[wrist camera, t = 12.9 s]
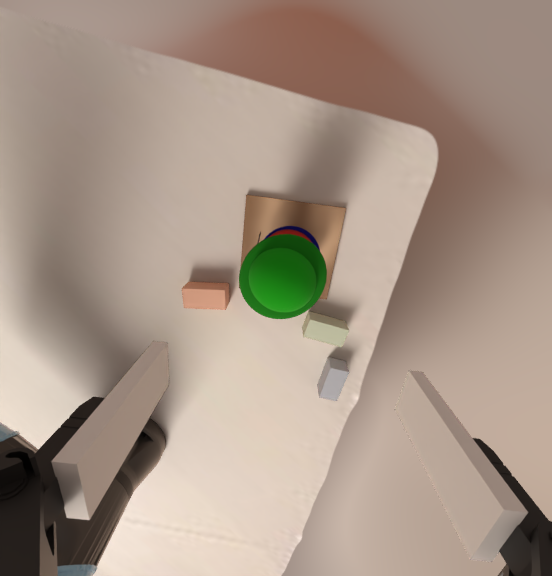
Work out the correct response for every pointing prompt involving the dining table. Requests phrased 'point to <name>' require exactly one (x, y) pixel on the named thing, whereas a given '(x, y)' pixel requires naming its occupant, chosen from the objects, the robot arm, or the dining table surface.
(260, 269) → the toy
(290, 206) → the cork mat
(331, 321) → the sage brick
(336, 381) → the slate brick
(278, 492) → the dining table surface
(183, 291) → the terracotta brick
